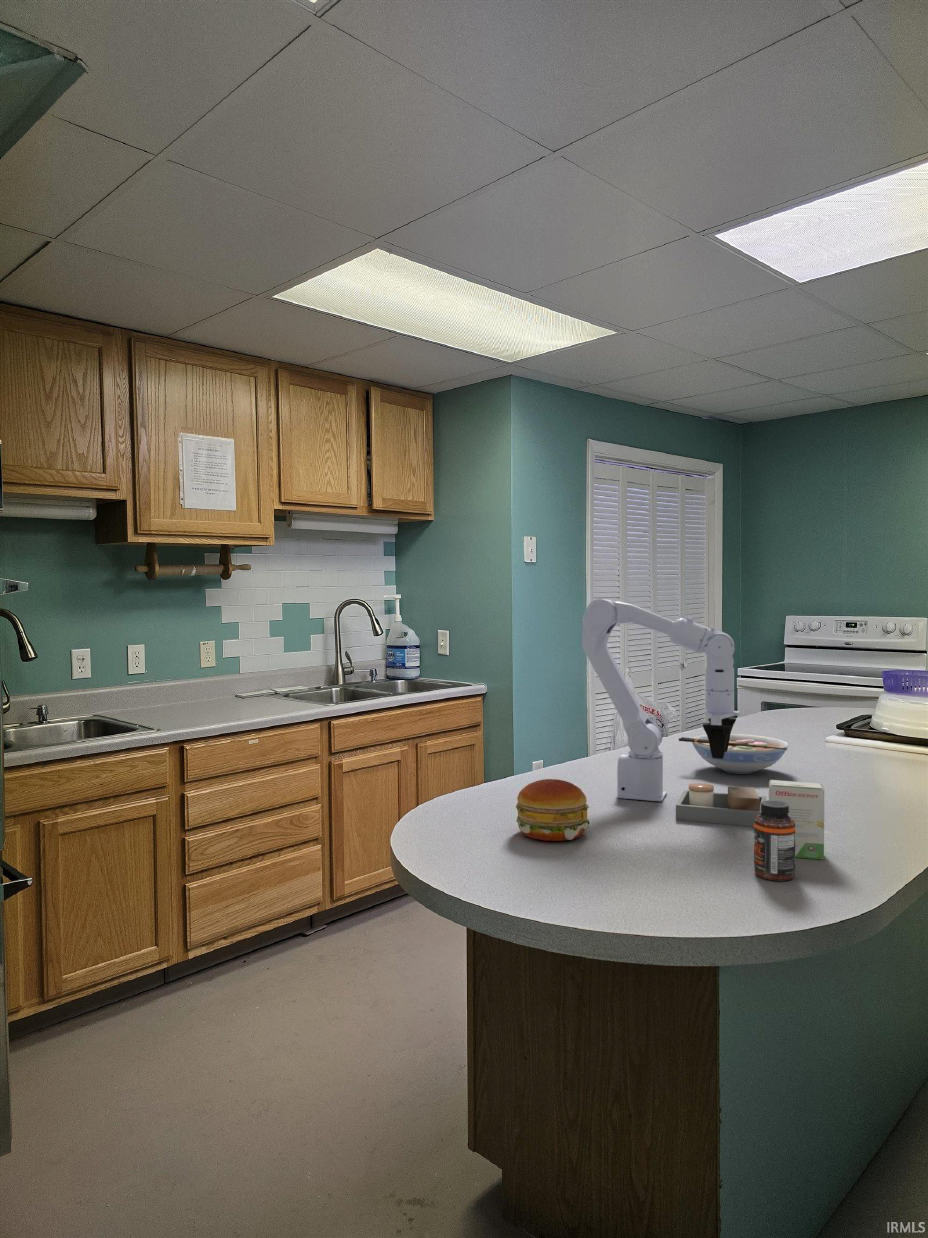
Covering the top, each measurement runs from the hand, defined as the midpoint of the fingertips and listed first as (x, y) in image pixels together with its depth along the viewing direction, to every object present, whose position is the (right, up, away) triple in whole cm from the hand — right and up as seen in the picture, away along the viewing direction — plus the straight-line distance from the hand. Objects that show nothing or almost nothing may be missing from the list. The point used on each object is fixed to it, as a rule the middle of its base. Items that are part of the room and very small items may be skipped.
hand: (719, 754), depth 171 cm
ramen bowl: (+14, -9, +30) cm, 35 cm away
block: (+1, -11, -11) cm, 15 cm away
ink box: (+2, -11, -34) cm, 36 cm away
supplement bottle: (-6, -11, -45) cm, 46 cm away
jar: (-6, -10, -8) cm, 15 cm away
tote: (-3, -10, -10) cm, 14 cm away
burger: (-37, -11, -22) cm, 45 cm away
